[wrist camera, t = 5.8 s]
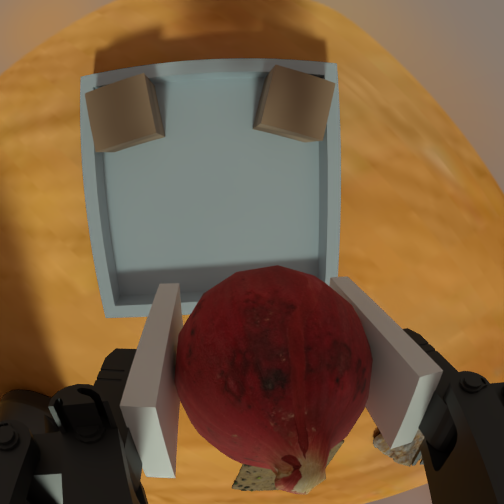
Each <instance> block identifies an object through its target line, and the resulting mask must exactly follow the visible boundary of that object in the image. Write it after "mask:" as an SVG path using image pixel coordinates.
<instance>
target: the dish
mask: <svg viewBox="0 0 504 504" xmlns="http://www.w3.org/2000/svg"><path fill="white" fill-rule="evenodd" d="M275 64H276V65H280V66H283V67H287V68H290V69H293V70H297V71H300V72H303V73H307V74H310V75H313V76H316V77H319V78H322V79H325V80H328V81H331V82H333V83H336V84H335V88H334V93H333V98H332V102H331V107H330V111H329V116H328V120H327V124H326V129H325V133H324V137H323V141H315V142H306V143H304V142H301V141H297V140H293V139H290V138H286V137H282V136H278V135H275V134H271V133H267V132H263V131H259V130H254V129H252V128H253V124H254V120H255V116H256V112H257V108H258V104H259V100H260V96H261V92H262V88H263V84H264V80H265V78H266V76H267V75H268V74H269V72H270V71H271V70H272V68H273V67H274V66H275ZM142 73H145V75H146V76H147V77H148V78H149V80H150V81H151V82H152V83H153V85H154V86H155V90H156V95H157V100H158V105H159V109H160V114H161V119H162V124H163V128H164V133H165V137H163V138H160V139H156V140H153V141H149V142H146V143H142V144H139V145H136V146H132V147H129V148H126V149H123V150H120V151H117V152H96V151H95V146H94V142H93V137H92V132H91V127H90V122H89V116H88V111H87V105H86V99H85V93H87V92H89V91H92V90H95V89H97V88H100V87H103V86H106V85H108V84H111V83H114V82H117V81H120V80H123V79H126V78H129V77H132V76H135V75H139V74H142ZM80 128H81V153H82V169H83V181H84V192H85V202H86V210H87V219H88V226H89V233H90V240H91V246H92V253H93V258H94V264H95V270H96V275H97V280H98V285H99V290H100V295H101V299H102V304H103V308H104V312H105V317H106V318H120V317H147V316H148V315H149V312H150V309H151V306H152V303H153V300H154V298H155V295H156V292H157V289H158V287H159V284H166V283H179V285H180V298H181V310H182V315H187V314H191V313H192V311H193V310H194V308H195V306H196V305H197V303H198V301H199V300H200V298H201V296H202V295H203V293H205V292H206V291H208V290H209V289H211V288H212V287H214V286H216V285H217V284H219V283H220V282H222V281H223V280H225V279H226V278H228V277H229V276H231V275H232V274H234V273H235V272H239V271H245V270H251V269H257V268H263V267H269V266H276V265H279V266H283V267H286V268H290V269H293V270H297V271H300V272H304V273H307V274H311V275H314V276H316V277H317V278H319V279H320V280H322V281H323V282H325V283H326V284H327V285H328V286H329V285H330V277H338V262H339V241H340V208H341V142H340V110H339V90H338V74H337V64H336V63H327V62H317V61H304V60H289V59H261V58H234V59H206V60H190V61H178V62H168V63H159V64H150V65H143V66H136V67H129V68H123V69H117V70H112V71H106V72H101V73H96V74H91V75H87V76H82V77H81V88H80Z"/></svg>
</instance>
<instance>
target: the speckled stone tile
mask: <svg viewBox="0 0 504 504" xmlns="http://www.w3.org/2000/svg"><path fill="white" fill-rule="evenodd" d="M343 443H344V440H342V441H341V442H340V443H338V444H337V445H336V446H335V447H333V448H332V449H331V450H330V452H329V457H328V461H327V465H328V464H329V462H330V461H331V460H332V458H333V457H334V455H335V454H336V452H337V451H338V450H339V448H340V447H341V445H342V444H343ZM327 465H326V466H327ZM275 478H276V475H275V474H274V473H273V471H272V470H271V469H266V468H261V467H255V466H251V465H247V464H243V465H242V467H241V469H240V472H239V474H238V476H237V478H236V480H235V481H234V484H233V485H232V489H239V490H241V491H246V490H249V491H255V490H257V491H260V490H261V491H263V490H279V489H276V487H275V481H274V480H275Z"/></svg>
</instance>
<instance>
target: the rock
mask: <svg viewBox="0 0 504 504" xmlns="http://www.w3.org/2000/svg"><path fill="white" fill-rule="evenodd" d="M423 439H424V435H423V434H422V433H421V431H420V430H419V429H418V431H417V433H416V435H415V437H414V439H413V441H412V442H411V443H408V444H405V445H402V446H399V447H396V448H393V449H390V448H389V446H388V444H387V443H386V441H385V439H384V437H383V436H382V434H379V435H378V436H376V437H375V438H374V440H373V444H374V447H375V448H376V447H377V448H378V449H379V450H380V451H381V452H382V453H383V454H385V455H388V456H389V457H391V458H393V460H394V461H395V462H397V463H399V464H403V465H407V466H409V467H410V465H411V464H412V459H413V457H414V455H415V454H416V452H417V450H418V448H419V446H420V445H421V443H422V441H423ZM420 459H422V455H421V456H420V458H419V460H420Z"/></svg>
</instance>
